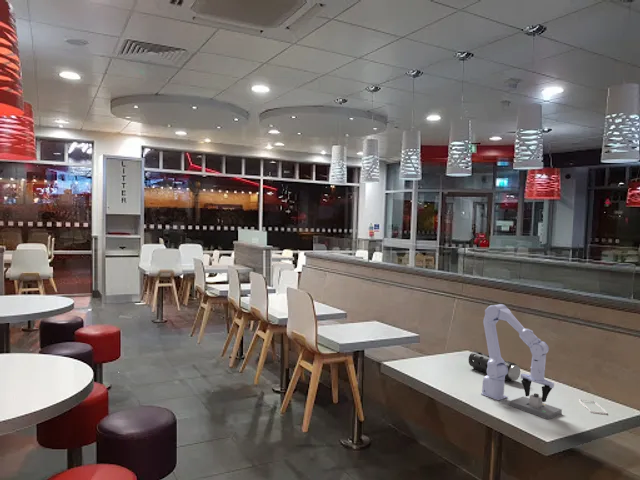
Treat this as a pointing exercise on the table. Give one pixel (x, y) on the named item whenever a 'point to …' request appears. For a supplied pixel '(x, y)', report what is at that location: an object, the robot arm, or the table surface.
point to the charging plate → (543, 412)
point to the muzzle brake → (481, 365)
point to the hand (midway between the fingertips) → (535, 398)
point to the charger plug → (535, 401)
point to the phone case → (593, 411)
